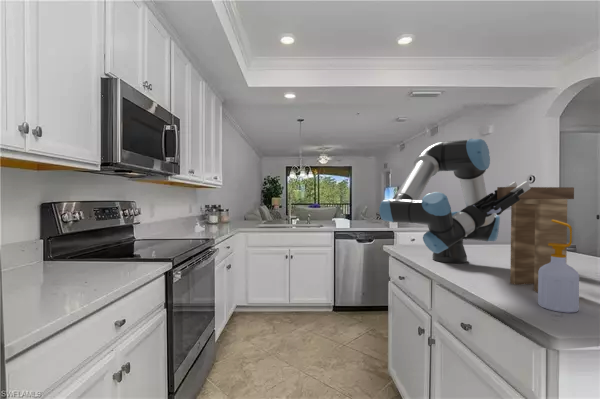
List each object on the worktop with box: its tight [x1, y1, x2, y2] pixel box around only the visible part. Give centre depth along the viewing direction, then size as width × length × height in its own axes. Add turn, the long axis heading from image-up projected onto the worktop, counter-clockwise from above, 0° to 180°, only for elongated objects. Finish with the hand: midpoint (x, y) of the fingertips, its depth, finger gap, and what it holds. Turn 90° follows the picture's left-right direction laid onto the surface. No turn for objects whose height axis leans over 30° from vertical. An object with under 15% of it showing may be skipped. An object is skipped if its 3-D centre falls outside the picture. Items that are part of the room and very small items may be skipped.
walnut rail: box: [496, 186, 575, 200], centre depth 115 cm, size 4×26×4 cm, turn 100°
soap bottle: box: [537, 219, 580, 314], centre depth 95 cm, size 9×9×25 cm
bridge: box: [509, 199, 568, 293], centre depth 116 cm, size 12×10×30 cm
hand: (521, 185), depth 115 cm, fingers open, 4 cm apart
